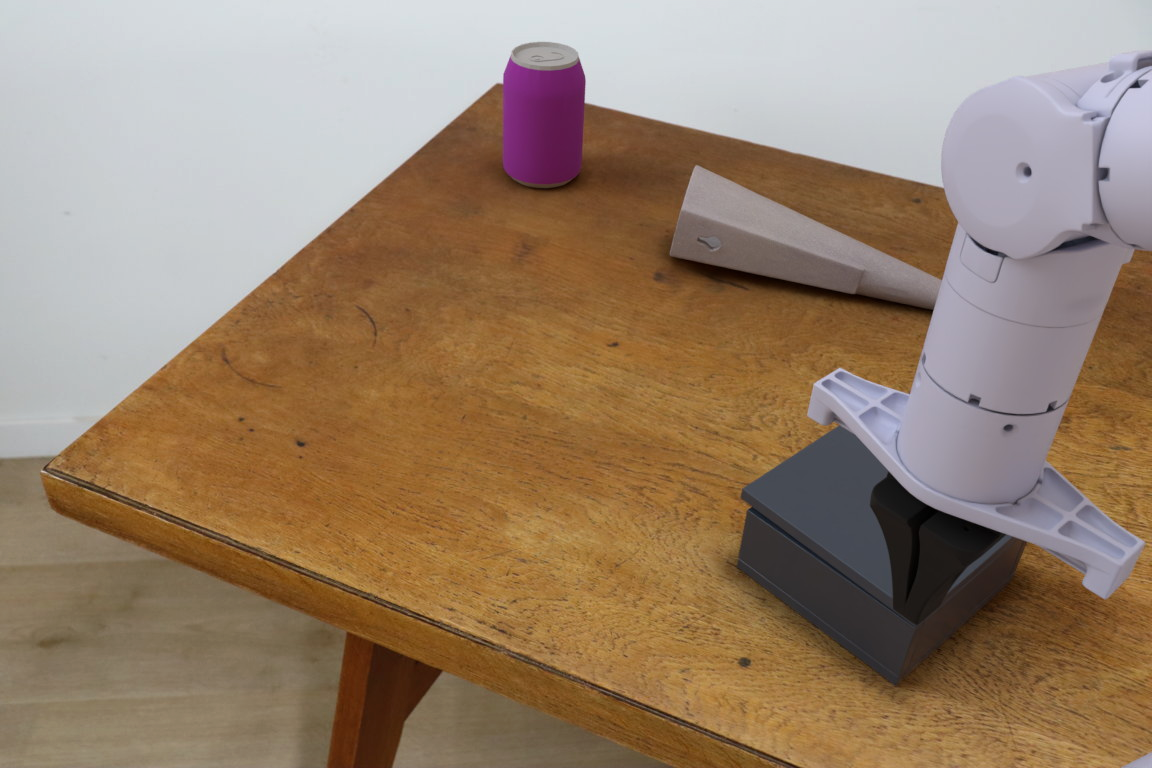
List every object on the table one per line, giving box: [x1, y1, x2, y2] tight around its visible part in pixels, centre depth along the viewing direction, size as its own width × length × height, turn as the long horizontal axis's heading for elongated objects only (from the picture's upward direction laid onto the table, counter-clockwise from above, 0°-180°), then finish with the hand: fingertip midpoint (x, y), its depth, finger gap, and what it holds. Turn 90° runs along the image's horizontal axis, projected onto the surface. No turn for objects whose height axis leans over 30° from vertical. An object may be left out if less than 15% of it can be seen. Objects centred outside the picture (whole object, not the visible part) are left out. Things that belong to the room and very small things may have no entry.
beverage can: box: [502, 41, 587, 189], centre depth 105 cm, size 8×8×12 cm
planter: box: [669, 164, 942, 311], centre depth 94 cm, size 8×9×26 cm
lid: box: [740, 425, 1017, 627], centre depth 64 cm, size 12×12×1 cm
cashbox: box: [736, 506, 1028, 687], centre depth 66 cm, size 12×12×5 cm
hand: (916, 606), depth 51 cm, fingers closed
